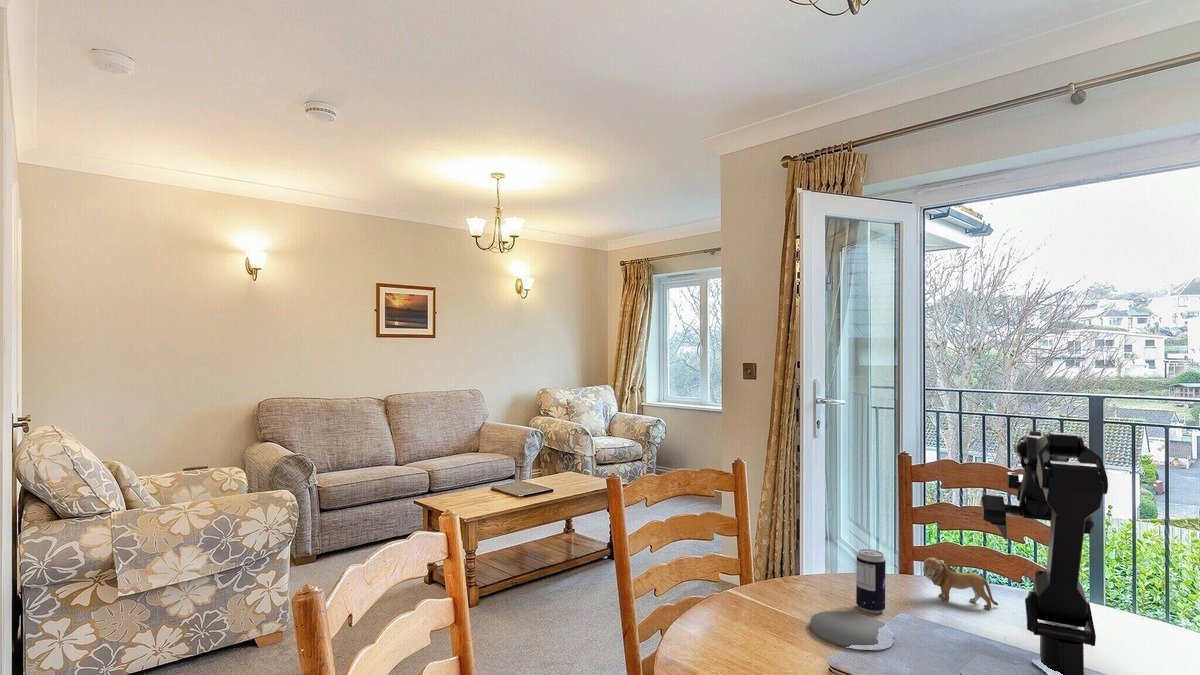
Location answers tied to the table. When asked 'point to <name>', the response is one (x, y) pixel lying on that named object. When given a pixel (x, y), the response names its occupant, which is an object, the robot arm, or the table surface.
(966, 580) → the lion figurine
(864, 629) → the gray smooth stone
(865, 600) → the beverage can
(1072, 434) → the robot arm
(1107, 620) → the table surface
